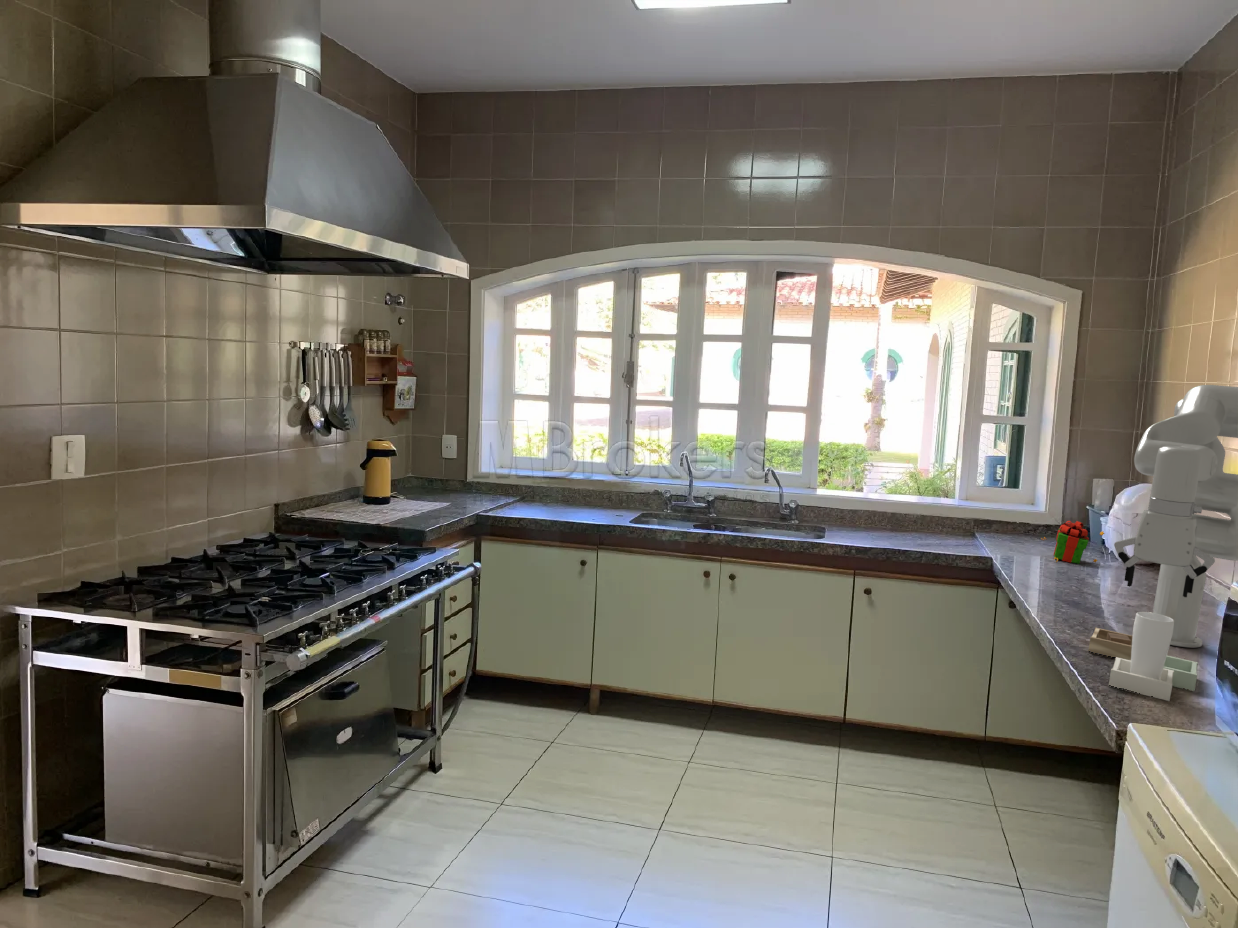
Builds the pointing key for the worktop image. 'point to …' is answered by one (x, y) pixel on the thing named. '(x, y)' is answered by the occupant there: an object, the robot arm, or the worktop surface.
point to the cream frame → (1141, 680)
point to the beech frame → (1109, 645)
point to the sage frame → (1182, 672)
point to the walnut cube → (1118, 638)
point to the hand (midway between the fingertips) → (1156, 590)
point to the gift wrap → (1071, 542)
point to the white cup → (1150, 644)
